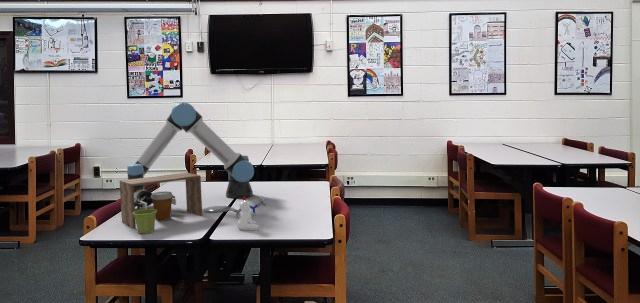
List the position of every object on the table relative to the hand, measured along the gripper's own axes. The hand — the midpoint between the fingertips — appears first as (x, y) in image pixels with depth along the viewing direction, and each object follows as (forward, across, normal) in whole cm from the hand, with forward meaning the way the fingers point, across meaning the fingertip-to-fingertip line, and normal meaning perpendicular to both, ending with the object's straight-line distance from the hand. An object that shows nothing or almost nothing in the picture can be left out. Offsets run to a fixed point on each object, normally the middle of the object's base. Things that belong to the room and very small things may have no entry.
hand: (161, 204), depth 211 cm
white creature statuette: (+43, -19, -7) cm, 47 cm away
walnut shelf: (0, 0, -7) cm, 7 cm away
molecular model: (+25, -32, -7) cm, 41 cm away
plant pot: (+17, +14, -7) cm, 23 cm away
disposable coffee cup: (0, 0, -7) cm, 7 cm away
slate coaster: (+1, -28, -7) cm, 29 cm away
